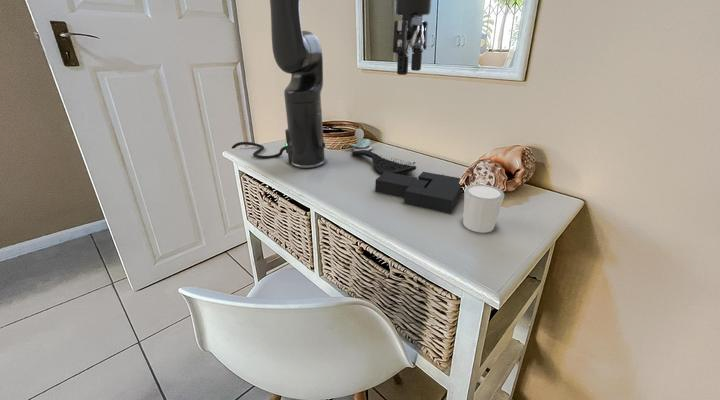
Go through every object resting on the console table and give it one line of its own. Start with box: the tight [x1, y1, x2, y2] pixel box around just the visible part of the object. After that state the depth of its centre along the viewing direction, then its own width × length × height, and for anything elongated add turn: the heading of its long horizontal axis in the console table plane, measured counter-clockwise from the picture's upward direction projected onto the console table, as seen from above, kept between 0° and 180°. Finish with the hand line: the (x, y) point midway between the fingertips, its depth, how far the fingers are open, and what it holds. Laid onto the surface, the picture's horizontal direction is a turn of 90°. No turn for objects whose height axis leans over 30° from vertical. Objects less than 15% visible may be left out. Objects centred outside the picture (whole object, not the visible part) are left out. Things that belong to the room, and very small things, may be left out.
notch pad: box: [403, 171, 464, 214], centre depth 73 cm, size 10×12×3 cm
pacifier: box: [348, 128, 373, 151], centre depth 102 cm, size 7×6×6 cm
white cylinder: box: [462, 183, 506, 234], centre depth 61 cm, size 7×7×7 cm
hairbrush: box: [351, 150, 417, 176], centre depth 90 cm, size 8×4×25 cm
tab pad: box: [374, 172, 429, 199], centre depth 76 cm, size 11×6×3 cm, turn 62°
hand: (409, 72), depth 76 cm, fingers open, 8 cm apart
